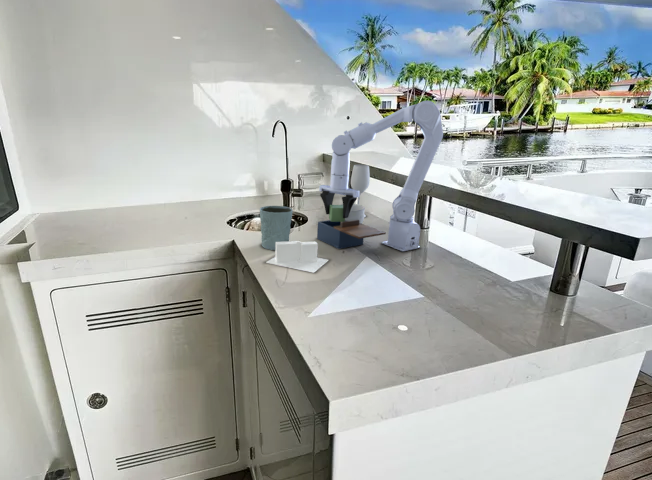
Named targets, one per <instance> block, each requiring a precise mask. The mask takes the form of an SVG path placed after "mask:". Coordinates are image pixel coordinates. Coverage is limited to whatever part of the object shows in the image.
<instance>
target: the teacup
mask: <svg viewBox="0 0 652 480" xmlns="http://www.w3.org/2000/svg"><path fill="white" fill-rule="evenodd" d="M341 205H343V203H342V204H341ZM365 209H366V207H365V206H364V205H362V204H359V205H358V204H357V203H354V204H353V206H352V208H351V210H350V213H349V216H348V218H345V220H347V221H350V220H357V219H358V220H360V221H359V223H361V224H363V223H364V220H365V217H364V215H365Z"/></svg>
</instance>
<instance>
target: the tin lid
mask: <svg viewBox="0 0 652 480" xmlns="http://www.w3.org/2000/svg"><path fill="white" fill-rule="evenodd" d="M359 221H360V220H358V219H357V220H350V221H343V222H340V226H334V227H333V228H334V229H336V230H339V231H341V232H344V233H346V234H349V235H351V236H354V237H356V238H358V239H361V238H363V239H366V238H371V237H372V238H373V237H378V236H382V235H383V236H384V235H386V234H387V232H386V231H384V230H380V229H377V228H375V227H372V226H369V225H367V224H363V223H362V224H361V223H359Z"/></svg>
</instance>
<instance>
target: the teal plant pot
mask: <svg viewBox="0 0 652 480" xmlns="http://www.w3.org/2000/svg"><path fill="white" fill-rule="evenodd" d="M293 212H294V211H293V209H292V208H291V207H289V206H284V205H265V206H261V207H260V208H259V219H260V220H259V221H260V234H261V237H260V238H261V239H260V240H261V247H263V248H264V249H265V250H270V251H276V242H287V241H290V234H291V227H292V226H291V224H292V219H293Z"/></svg>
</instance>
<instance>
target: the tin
mask: <svg viewBox="0 0 652 480" xmlns="http://www.w3.org/2000/svg"><path fill="white" fill-rule="evenodd" d="M345 221H347V220H345ZM334 226H340V222H331V221H330V219H329V220H328V219H327V220H320V221H317V229H316V231H317V234H316V235H317V236H316V239H317V240H319V241H321V242H323V243H325V244H327V245H329V246H332V247H334V248H336V249H338V250H341V249H346V248H351V247H357V246H361V245H362V246H363V245H364V238H361V239H358V238H356V237H354V236H351V235H349V234H346V233H344V232H341V231H339V230H336V229H334V228H333V227H334Z"/></svg>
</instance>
